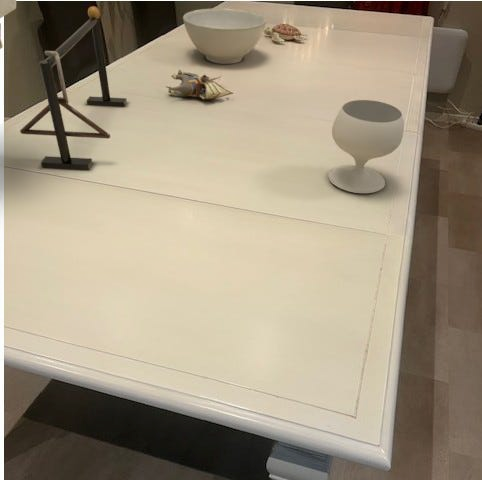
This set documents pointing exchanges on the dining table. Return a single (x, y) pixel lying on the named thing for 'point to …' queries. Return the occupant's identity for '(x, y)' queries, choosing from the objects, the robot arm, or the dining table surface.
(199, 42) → the decorative bowl
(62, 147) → the rail
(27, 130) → the hanger
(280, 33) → the decorative turtle
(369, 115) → the chalice
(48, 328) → the dining table surface
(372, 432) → the dining table surface
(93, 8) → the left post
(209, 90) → the figurine
